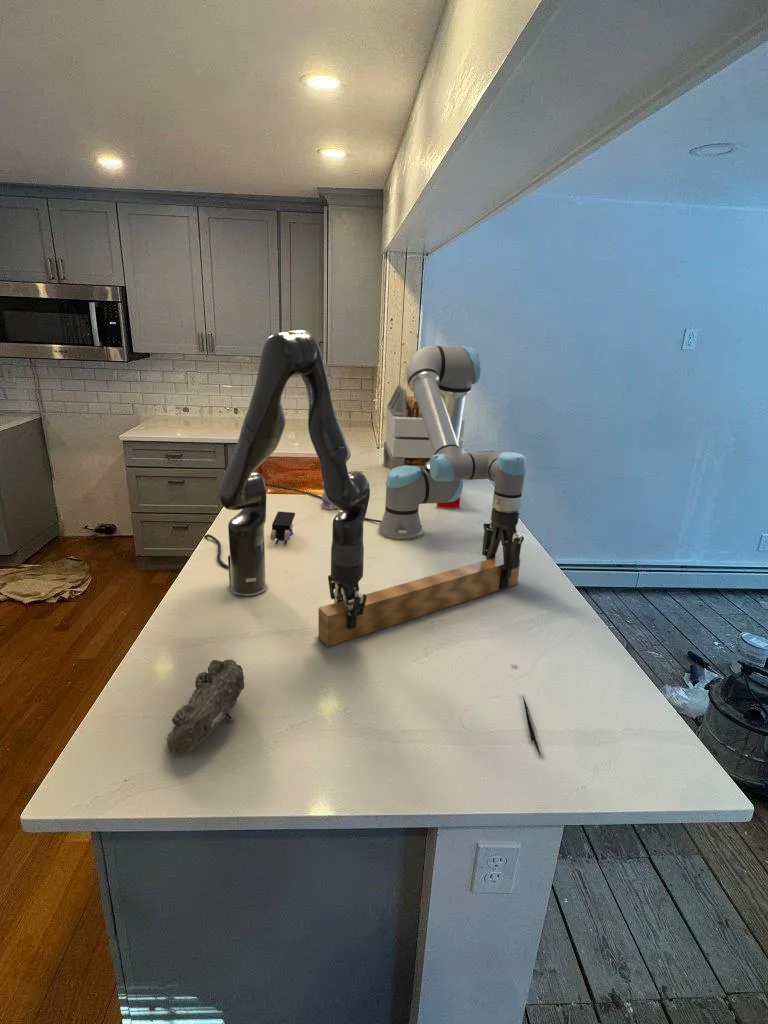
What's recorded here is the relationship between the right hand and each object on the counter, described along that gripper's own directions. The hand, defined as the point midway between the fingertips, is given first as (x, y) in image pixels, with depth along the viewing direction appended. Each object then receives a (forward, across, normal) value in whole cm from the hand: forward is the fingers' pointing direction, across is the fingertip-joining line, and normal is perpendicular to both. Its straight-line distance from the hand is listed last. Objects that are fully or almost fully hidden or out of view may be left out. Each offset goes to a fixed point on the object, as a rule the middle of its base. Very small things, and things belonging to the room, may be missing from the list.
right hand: (496, 584), depth 165 cm
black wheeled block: (+1, -61, -39) cm, 73 cm away
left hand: (-3, 0, -51) cm, 51 cm away
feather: (+1, +42, -34) cm, 54 cm away
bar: (+1, 0, -26) cm, 26 cm away
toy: (+1, -71, +40) cm, 81 cm away
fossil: (+1, +12, -88) cm, 89 cm away
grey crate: (+1, -105, +54) cm, 118 cm away
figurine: (+1, -83, -8) cm, 83 cm away
